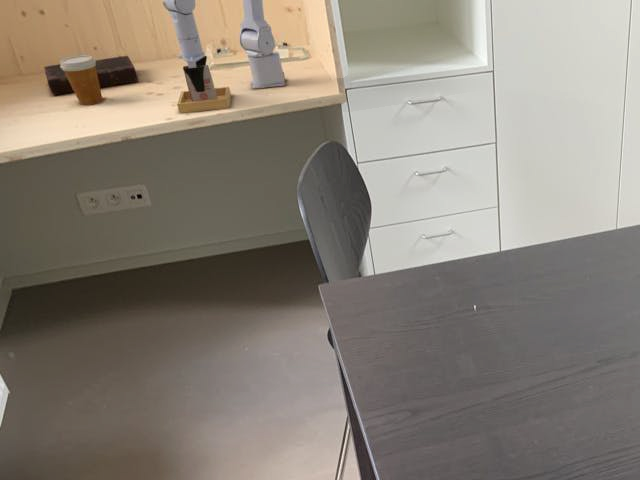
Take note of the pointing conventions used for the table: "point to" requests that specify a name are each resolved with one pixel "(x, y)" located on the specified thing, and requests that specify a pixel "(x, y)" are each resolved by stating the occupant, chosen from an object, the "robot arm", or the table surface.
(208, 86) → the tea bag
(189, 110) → the tray
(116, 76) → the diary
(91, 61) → the disposable coffee cup
